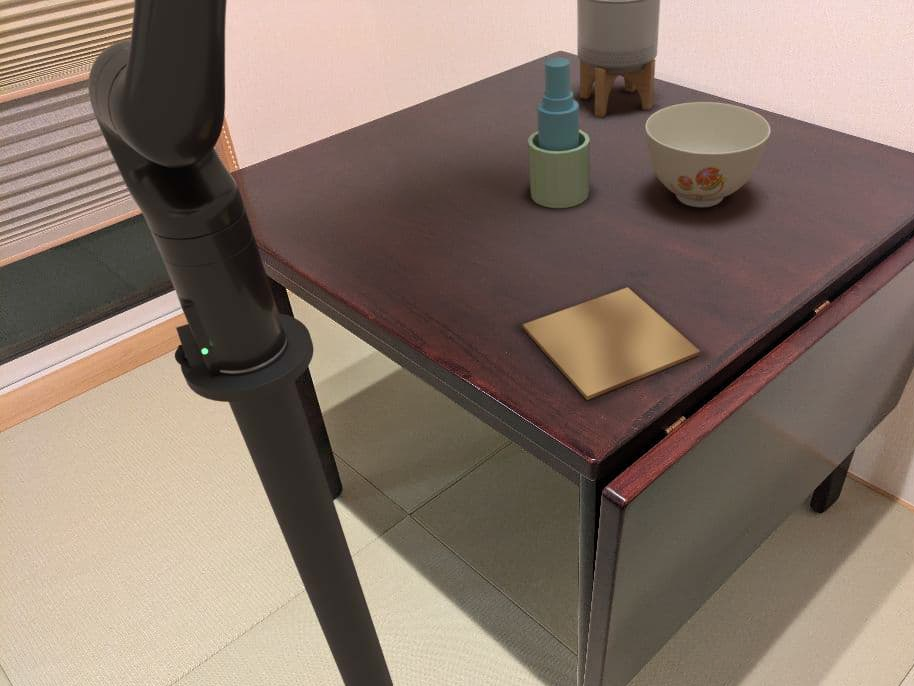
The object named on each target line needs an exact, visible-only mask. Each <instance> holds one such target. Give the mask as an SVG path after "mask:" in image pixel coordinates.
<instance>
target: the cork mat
mask: <svg viewBox="0 0 914 686" xmlns="http://www.w3.org/2000/svg"><path fill="white" fill-rule="evenodd" d="M522 329H523V331H524V332H525V333H526V334H527V335H528V337H530V338H531V339H532V340H533V341H534V343H535V344H536V345H537V346H538V347H539V348H540V349H541V351H542V352H543V353H544V354H545V355H546V356H547V358H549V360H550V361H551V362H552V363H553V364H554V365H555V366H556V367H557V368H558V370H559V371H560V372H561V373H562V375H564V376H565V377H566V379H567V380H568V381H569V382H570V383H571V384H572V386H574V387H575V389H576V390H577V391H578V392H579V393H580V395H582V397H584V399H585V400H586V401H589V400H592V399H594V398H597V397H600V396H601V395H604V394H606V393H609V392H611V391H614V390H617V389H620V388H622V387H624V386H626V385H629V384H632V383H635V382H636V381H639V380H642V379H644V378H646V377H649V376H651V375H654V374H656V373H659V372H661V371H664V370H666V369H670V368H671V367H673V366H676V365H679V364H681V363H684V362H686V361H688V360H691V359H693V358H696V357H699V356H700V354H701V350H700V349H699V348H698V347H697V346H695V345H694V344H693V343H692V342H691V341H689V340H688V339H687V338H686V337H685V336H684V335H682V334H681V333H680V331H678V330H677V329H676V328H675V327H674V326H672V324H670V322H668V321H667V320H666V319H665V318H663V317H662V316H661V315H660V314H659V313H658V312H657V311H655V310H654V309H653V308H652V307H651V306H650V305H648V304H647V303H646V302H645V301H644V300H643V299H642V298H641V297H640V296H638V295H637V294H636V293H635V292H634V291H632V290H631V289H630V288H629V287H627V286H626V287H625V288H622V289H621V288H620V289H618V290H616V291H613V292H610V293H607V294H604V295H602V296H599V297H596V298H593V299H591V300H587V301H585V302H582V303H579V304H576V305H574V306H570V307H568V308H564V309H562V310H559V311H557V312H554V313H551V314H548V315H545V316H542V317H539V318H537V319H533V320H531V321H528V322H525V323H523V324H522Z"/></svg>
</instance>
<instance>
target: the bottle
mask: <svg viewBox="0 0 914 686" xmlns="http://www.w3.org/2000/svg"><path fill="white" fill-rule="evenodd" d="M543 65H544V91H543V92H542V95H541V97H542V100H541V101H540V102H539V103H537V108H536V109H537V131H538V136H539V148H541V149H544V150H547V151H568V150H571V149H575V148H577V147H579V130H580V105H579V102H578V101H577V100H575V99H574V92H573V91H572V90H571V61H570V59H568V58H564V57H552V58H547V59H546V60H545V61H544V64H543Z"/></svg>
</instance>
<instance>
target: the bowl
mask: <svg viewBox="0 0 914 686" xmlns="http://www.w3.org/2000/svg"><path fill="white" fill-rule="evenodd" d="M644 127H645V136H646V141H647V147H648V154H649V158H650V163H651V166H652V169H653V171H654V173H655V175H656V177H657V178H658V180H659V181H660V183H662V185H663V186H664V187H665V188H666V189H668V190H669V191H670V192H671V193H673V194H675V196H676V198H677V200H678V201H679V202H680V203H681V204H684V205H686V206H689V207H693V208H710V207H714V206H716V205H718V204H719V203H721V202H722V201H723V199H724V198H725V197H727V196H730V195H732V194H734V193H735V192H736V191H738V190H739V189H741V188H742V187H743V186H744V185H745V184H746V183H747V182H748V181H749V180H750V179H751V177H752V175H753V174H754V173H755V170H756V169H757V167H758V165H759V163H760V160H761V158H762V155H763V153H764V150H765V148H766V145H767V143H768V141H769V138H770V136H771V131H772V130H771V126H770V123H769V122H768V121H767V120H766V118H764V116H762V115H760V114H759V113H758V112H756V111H753V110H751V109H749V108H745V107H742V106H739V105H735V104H730V103H723V102H713V101H695V102H694V101H693V102H685V103H678V104H674V105H669V106H667V107H664V108H661V109H659V110H657V111H656V112H654V113H653V114H651V115H650V116H649V117H648V118H647V120H646V122H645V126H644Z"/></svg>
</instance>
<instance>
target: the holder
mask: <svg viewBox="0 0 914 686" xmlns="http://www.w3.org/2000/svg"><path fill="white" fill-rule="evenodd" d="M527 148H528V149H527V150H528V151H527V152H528V171H529V172H528V173H529V190H530V197H531V200H532V201H533V202H534V203H536V204H537V205H539V206H542V207H544V208H550V209H567V208H571V207H575V206H579V205H580V204H582V203H584V202H586V200H587V199H588V198H589V195H590V187H591V186H590V183H591V182H590V181H591V180H590V179H591V178H590V177H591V176H590V175H591V173H590V171H591V169H590V167H591V166H590V165H591V163H590V162H591V140H590V136H589V134H587V133H586V132H585V131H583V130H582V129H579V147H577V148H575V149H571V150H568V151H547V150H544V149H541V148H539V136H538V130H537V131H535V132H533V133H531V134H530V136H529V137H528V138H527Z"/></svg>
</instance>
